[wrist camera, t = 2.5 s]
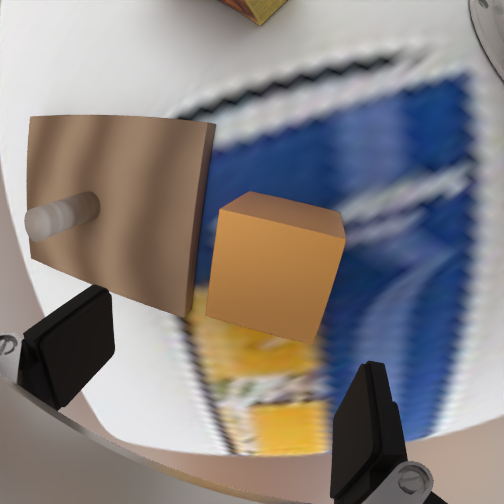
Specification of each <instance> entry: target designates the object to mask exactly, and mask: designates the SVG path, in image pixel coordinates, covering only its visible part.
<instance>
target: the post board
mask: <svg viewBox="0 0 504 504" xmlns="http://www.w3.org/2000/svg"><path fill="white" fill-rule="evenodd" d="M215 126H216V124H213V123H207V122H198V121H189V120H179V119H168V118H155V117H140V116H118V115H54V116H34V117H30V124H29V136H28V151H27V212H26V215H25V228H26V231H27V234H28V236H29V243H30V253H31V258H32V259H34V260H36V261H38V262H41V263H43V264H45V265H47V266H50V267H52V268H54V269H56V270H59V271H61V272H63V273H66V274H68V275H70V276H73V277H75V278H78V279H80V280H83V281H85V282H87V283H90V284H92V285H94V284H96V285H99V286H102V287H104V288H107V289H108V291H110V292H113V293H115V294H118V295H121V296H123V297H126V298H129V299H131V300H134V301H137V302H140V303H142V304H145V305H148V306H151V307H154V308H157V309H160V310H162V311H165V312H168V313H171V314H174V315H177V316H180V317H183V318H184V317H185V316H186V315H187V314H188V312H189V311H190V310H191V309H192V300H193V290H194V280H195V270H196V261H197V252H198V244H199V235H200V227H201V220H202V212H203V204H204V197H205V190H206V183H207V176H208V169H209V163H210V156H211V150H212V144H213V138H214V132H215Z"/></svg>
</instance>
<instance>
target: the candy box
mask: <svg viewBox="0 0 504 504" xmlns="http://www.w3.org/2000/svg"><path fill="white" fill-rule="evenodd" d="M219 1H221V2H223V3H225V4H226V5H228V6H230V7H231V8H233V9H235V10H236V11H238V12H240V13H241V14H243V15H245V16H246V17H248V18H249V19H251V20H252V21H254V22H255V23H257V24H258V25H259V26H261V25H262V24H263V23H264V22H265V21H266V20H267V19H268V18H269V17H270V16H271V15H272V14H273V13H274V12H275V11H276V10H277V9H278V8H279V7H280V6H282V5H283V4H284V3H285V2H286V1H287V0H219Z"/></svg>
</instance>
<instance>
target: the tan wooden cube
mask: <svg viewBox="0 0 504 504" xmlns="http://www.w3.org/2000/svg"><path fill="white" fill-rule="evenodd" d="M345 242H346V236H345V231H344V227H343V222H342V218H341V214H340V212H337V211H333V210H329V209H325V208H321V207H317V206H313V205H309V204H305V203H301V202H297V201H292V200H288V199H284V198H279V197H275V196H271V195H266V194H261V193H257V192H252V191H248V192H247V193H245V194H243V195H242V196H240V197H239V198H237V199H235V200H234V201H232V202H230V203H229V204H227V205H226V206H224V207H222V208H221V209H220V211H219V217H218V224H217V231H216V238H215V245H214V252H213V260H212V267H211V275H210V283H209V290H208V298H207V307H206V315H205V316H208V317H211V318H215V319H218V320H221V321H225V322H228V323H232V324H235V325H239V326H242V327H246V328H249V329H253V330H256V331H260V332H264V333H268V334H271V335H275V336H279V337H283V338H287V339H291V340H295V341H299V342H303V343H307V344H311V345H313V342H314V340H315V337H316V334H317V331H318V328H319V325H320V322H321V319H322V317H323V314H324V311H325V308H326V305H327V302H328V298H329V295H330V292H331V289H332V286H333V283H334V280H335V276H336V273H337V270H338V266H339V263H340V260H341V256H342V253H343V249H344V246H345Z"/></svg>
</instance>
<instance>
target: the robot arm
mask: <svg viewBox="0 0 504 504" xmlns="http://www.w3.org/2000/svg"><path fill="white" fill-rule="evenodd" d="M470 10H471V16H472V20H473V23H474V26H475V29H476V33H477V35H478V37H479V39H480V42H481V44H482V46H483V48H484V50H485V52H486V54H487V55H488V57H489V59H490V61H491V63H492V64H493V66H494V67H495V69H496V70H497V72H498V73H499V75H500V76H501V78H502V79H503V80H504V0H470ZM23 335H24V339H23V340H22V341H21V339H20V337H19V336H18V335H16V334H14V333H10V332H4V333H0V504H310V503H302V502H297V501H291V500H285V499H280V498H275V497H270V496H265V495H260V494H256V493H251V492H247V491H243V490H239V489H235V488H232V487H228V486H224V485H221V484H217V483H214V482H211V481H208V480H204V479H201V478H198V477H195V476H192V475H189V474H186V473H184V472H181V471H178V470H175V469H172V468H170V467H167V466H165V465H162V464H160V463H157V462H155V461H152V460H150V459H148V458H145V457H143V456H141V455H138V454H136V453H133V452H132V451H130V450H127V449H125V448H123V447H121V446H119V445H117V444H115V443H113V442H111V441H109V440H107V439H105V438H103V437H101V436H99V435H97V434H95V433H94V432H92V431H90V430H88V429H86V428H85V427H83V426H81V425H79V424H78V423H76V422H74V421H72V420H71V419H69V418H67V417H66V416H64V415H63V414H61V413H59V412H58V410H59V409H60V408H61V407H65V406H67V405H68V404H69V402H70V401H71V400H72V399H73V398H74V397H75V396H76V395H77V394H78V392H80V390H81V389H82V388H83V387H84V386H85V385H86V384H87V383H88V382H89V381H90V380H91V379H92V378H93V376H94V375H95V374H96V373H97V372H98V371H99V370H100V369H101V368H102V367H103V366H104V365H105V364H106V363H107V362H108V360H109V359H110V358H111V357H112V356H113V354H114V352H115V342H114V329H113V314H112V296H111V294H110V293H109V291H108V289H107V288H104V287H102V286H99V285H96V284H94V285H92V286H90V287H89V288H87V289H86V290H84V291H83V292H81V293H80V294H78V295H77V296H75V297H74V298H72V299H71V300H69V301H68V302H67V303H65V304H64V305H62V306H61V307H59V308H58V309H56V310H55V311H54V312H52V313H51V314H49V315H48V316H46V317H45V318H44V319H42V320H41V321H40V322H38V323H37V324H35V325H34V326H33V327H31V328H30V329H28V330H27V331H26V332H25V333H23ZM45 403H46V404H45ZM433 481H434V480H433V477H432V474H431V473H430V471H429V469H428V468H426V467H425V466H424V465H422V464H420V463H418V462H414V461H408V459H407V453H406V447H405V441H404V435H403V430H402V425H401V420H400V415H399V410H398V406H397V403H396V402H393V401H392V396H391V391H390V387H389V382H388V378H387V373H386V369H385V365H384V364H383V363H379V362H374V361H368V362H367V363H366V364H361V365H360V367H359V369H358V371H357V373H356V375H355V377H354V379H353V381H352V383H351V385H350V387H349V389H348V391H347V393H346V395H345V397H344V399H343V401H342V403H341V404H340V406H339V408H338V410H337V412H336V414H335V416H334V420H333V446H332V469H331V487H330V497H331V498H333V499H334V504H448V503H446V502H445V501H444V500H442V499H441V498H440V497H438V496H437V495H436V494H434V493H433V492H432V491H431V490H432V488H433Z"/></svg>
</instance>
